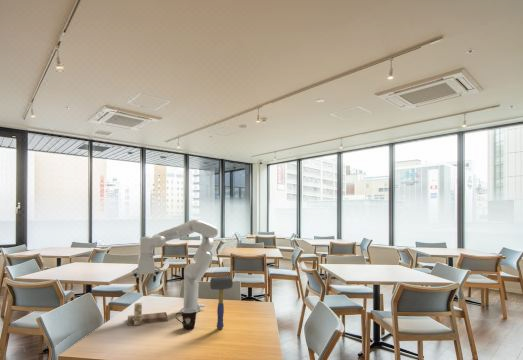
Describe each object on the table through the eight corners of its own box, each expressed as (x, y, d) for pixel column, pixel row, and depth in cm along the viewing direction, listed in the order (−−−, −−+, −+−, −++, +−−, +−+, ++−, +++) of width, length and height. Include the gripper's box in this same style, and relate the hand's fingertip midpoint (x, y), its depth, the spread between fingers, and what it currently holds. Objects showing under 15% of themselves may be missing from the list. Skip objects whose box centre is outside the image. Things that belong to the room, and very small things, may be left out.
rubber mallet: (228, 325, 197) (229, 274, 200) (232, 329, 190) (233, 277, 193) (208, 327, 193) (209, 275, 195) (211, 332, 186) (212, 278, 188)
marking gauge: (140, 317, 207) (141, 301, 208) (141, 324, 194) (142, 307, 195) (133, 318, 206) (134, 302, 207) (134, 325, 193) (135, 308, 194)
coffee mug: (199, 327, 193) (199, 309, 194) (190, 331, 186) (190, 313, 186) (183, 324, 198) (184, 307, 199) (173, 328, 190) (174, 310, 191)
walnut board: (165, 316, 212) (166, 311, 213) (167, 320, 203) (167, 316, 203) (127, 319, 204) (127, 315, 204) (127, 325, 195) (128, 320, 195)
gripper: (159, 254, 218) (159, 280, 217) (131, 256, 211) (131, 283, 210) (161, 255, 211) (160, 282, 210) (132, 257, 204) (132, 285, 203)
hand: (146, 282), depth 210 cm, fingers open, 9 cm apart
